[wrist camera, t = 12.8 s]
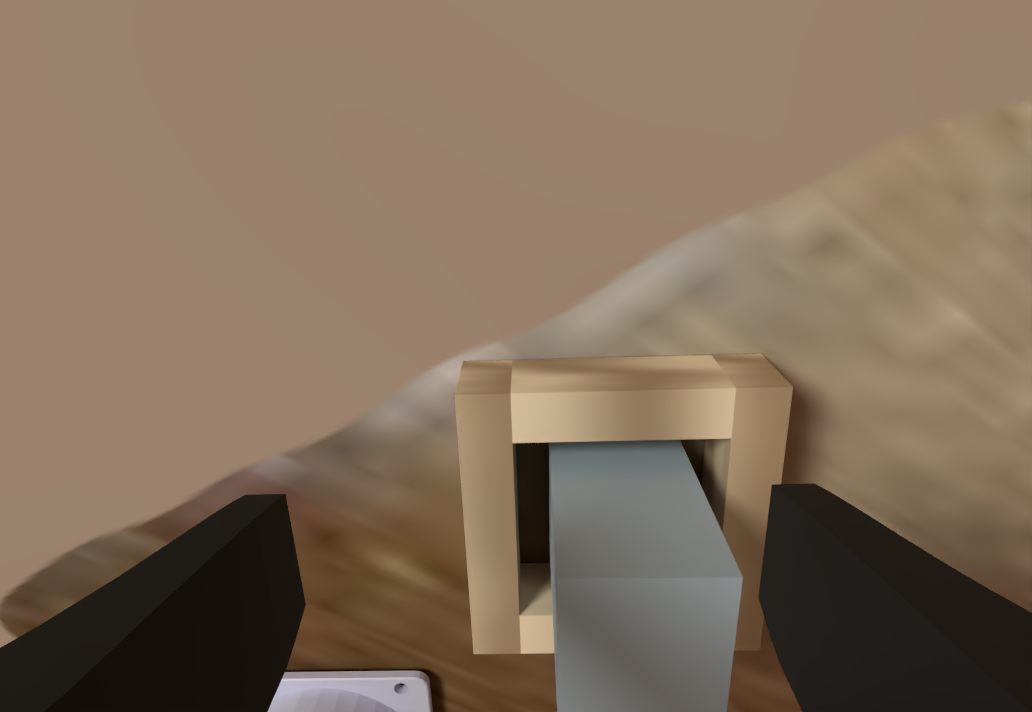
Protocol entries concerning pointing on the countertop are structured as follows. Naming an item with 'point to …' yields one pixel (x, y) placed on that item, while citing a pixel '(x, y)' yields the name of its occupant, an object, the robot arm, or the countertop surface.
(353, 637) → the countertop surface
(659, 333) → the countertop surface
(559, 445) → the slate square peg
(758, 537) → the birch well block
